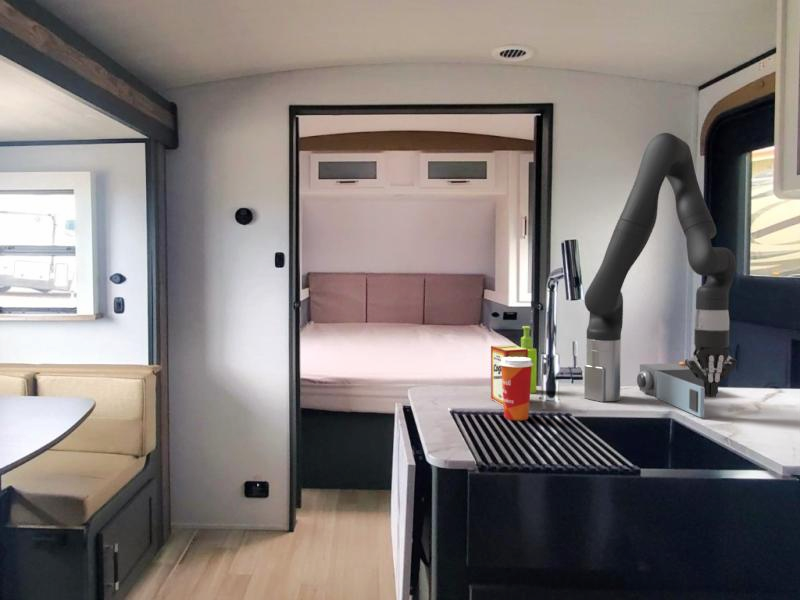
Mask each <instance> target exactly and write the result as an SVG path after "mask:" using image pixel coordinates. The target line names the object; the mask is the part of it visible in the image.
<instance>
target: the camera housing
mask: <svg viewBox="0 0 800 600" xmlns="http://www.w3.org/2000/svg"><path fill="white" fill-rule="evenodd" d="M698 367H699V368H700V364H698ZM700 369H701V368H700ZM655 371H660V372H662V373H665V374H668V375H671V376H673V377H676V378H679V379H682V380H685V381H687V382H690V383H693V384H696V385H699V386H701V387H704V381H703V380H701V379H698V378H696V377H695V375H694V374H693V373H692V371H691V370H690V369H689V367H688V366H687V365H686V363H685V361H679V362H678V363H677V362H676V363H673V362H672V363H648V364H647V363H644V364H643V363H642V364H639V372H638V374H637V377H636V383H637V386H638V388H639V391H640V392H642V393H645V394H647V393H648V395H650V396H652V397H655ZM704 397H707V396H706V395H704Z"/></svg>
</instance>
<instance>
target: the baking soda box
mask: <svg viewBox="0 0 800 600" xmlns="http://www.w3.org/2000/svg"><path fill="white" fill-rule="evenodd" d="M504 357H526V358H528V349H525V348H521V346H518V345H515V344H506V345H505V344H503V345H491V346H490V399H491V398H492V399H494V400H496V401H498V402H500V403H501V404H503V389H502V372H501V365H500V363H501V359H502V358H504Z"/></svg>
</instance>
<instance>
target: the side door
mask: <svg viewBox="0 0 800 600" xmlns="http://www.w3.org/2000/svg"><path fill="white" fill-rule="evenodd" d="M704 395H705V388H704V387H701V386H699V385H696V384H693V383H690V382H687V381H685V380H682V379H679V378H676V377H673V376H671V375H668V374H665V373H662V372H660V371H655V396H654V398H656V399H659V400H661V401H662V402H666V403H668V404H670V405H673V406H674V407H677V408H678V409H681V410H683V411H685V412H687V413H690V414H692V415H694V416H696V417H699V418H705V396H704Z"/></svg>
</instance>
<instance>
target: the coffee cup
mask: <svg viewBox="0 0 800 600" xmlns="http://www.w3.org/2000/svg"><path fill="white" fill-rule="evenodd" d="M500 365H501V372H502V389H503V405H504V406H503V415H504V417H503V418H504V419H506V420H509V421H526V420H528V419H529V414H530V403H531V402H530V401H531V400H530V399H531V393H530V386H531V369H532V366H533V363H532V362H531V359H530V358H526V357H504V358H502V359H501V363H500Z"/></svg>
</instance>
